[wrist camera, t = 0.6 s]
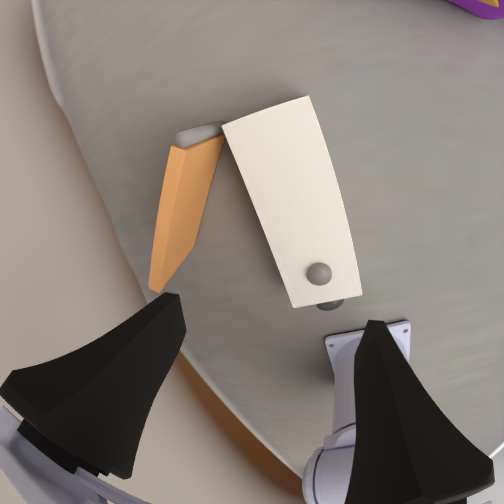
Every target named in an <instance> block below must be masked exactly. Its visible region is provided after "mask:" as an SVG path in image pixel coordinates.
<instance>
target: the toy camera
mask: <svg viewBox="0 0 504 504" xmlns="http://www.w3.org/2000/svg"><path fill="white" fill-rule="evenodd" d="M448 1H450V2H452V3H454V4H456V5H458V6H460V7H462V8H464V9H466V10H467V11H469V12H471V13H473V14H475V15H477V16H479V17H481V18H483V19H487V20H494V19H500V18H504V0H448Z"/></svg>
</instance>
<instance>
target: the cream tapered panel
mask: <svg viewBox="0 0 504 504" xmlns="http://www.w3.org/2000/svg"><path fill="white" fill-rule="evenodd" d="M222 129H223V131H224V133H225V136H226V138H227V141H228V143H229V146H230V148H231V150H232V153H233V155H234V158H235V160H236V163H237V165H238V168H239V170H240V172H241V175H242V177H243V180H244V182H245V185H246V187H247V190H248V192H249V195H250V197H251V200H252V202H253V205H254V207H255V210H256V212H257V215H258V217H259V220H260V222H261V225H262V228H263V230H264V233H265V235H266V238H267V240H268V243H269V245H270V248H271V251H272V253H273V256H274V258H275V261H276V264H277V266H278V269H279V271H280V274H281V277H282V279H283V282H284V284H285V287H286V290H287V292H288V295H289V298H290V300H291V303H292V306H293V308H296V307H302V306H308V305H313V304H316V306H317V307H318V308H319V309H321V310H325V311H329V310H333V309H336V308H338V307H339V306H340V305H341V304H342V303H343V302H344V299H345V298H350V297H355V296H359V295H362V289H361V283H360V278H359V272H358V267H357V262H356V257H355V252H354V247H353V243H352V238H351V234H350V230H349V225H348V221H347V217H346V213H345V209H344V205H343V201H342V197H341V194H340V190H339V186H338V183H337V179H336V176H335V172H334V169H333V166H332V162H331V159H330V156H329V153H328V150H327V146H326V143H325V140H324V137H323V134H322V131H321V128H320V125H319V123H318V120H317V117H316V114H315V111H314V109H313V106H312V103H311V101H310V98H309V95H308V96H305V97H301V98H298V99H295V100H291V101H288V102H285V103H282V104H279V105H276V106H273V107H270V108H267V109H264V110H261V111H258V112H256V113H253V114H250V115H247V116H245V117H242V118H239V119H237V120H234V121H232V122H229V123H227V124H224V125H222Z"/></svg>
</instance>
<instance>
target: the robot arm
mask: <svg viewBox="0 0 504 504" xmlns="http://www.w3.org/2000/svg"><path fill="white" fill-rule="evenodd" d="M410 327H411V326H410V322H409V321H402V322H398V323H393V324H389V325H386V324H385V322H384V321H377V320H368V322H367V325H366V328H365V330H360V331H355V332H350V333H344V334H338V335H332V336H328V337H326V338H325V344H326V348H327V351H328V355H329V358H330V361H331V365H332V369H333V372H334V376H335V389H334V413H333V430H332V435H329V436H325V437H324V446H323V447H320V448H318V449H316V450H315V451H314V452H313V454H312V455H311V457H310V458H309V460H308V462H307V464H306V466H305V469H304V473H303V482H302V487H303V495H304V498H305V500H306V503H307V504H467V497H469V496H471V495H473V494H476V493H478V492H480V491H482V490H484V489H486V488H488V487H490V486H492V485H493V484H494V482H495V478H494V467H493V461H492V460H491V459H490V458H489V457H488V456H487V455H485V454H484V453H483V452H482V451H480V450H479V449H478V448H477V447H475V446H474V445H473V444H472V443H471V442H470V441H469V440H468V439H467V438H466V437H465V436H464V435H463V434H462V433H461V432H460V431H459V430H458V429H457V428H456V427H455V426H454V425H453V424H452V423H451V422H450V420H449V419H448V418H447V417H446V416H445V415H444V414H443V412H442V411H441V410H440V409H439V408H438V406H437V405H436V404H435V402H434V401H433V400H432V398H431V397H430V396H429V394H428V393H427V392H426V390H425V389H424V387H423V386H422V384H421V383H420V381H419V380H418V378H417V377H416V375H415V373H414V372H413V370H412V368H411V367H410V365H409V350H410ZM405 329H406V330H405ZM185 334H186V326H185V321H184V317H183V312H182V307H181V302H180V297H179V295H178V294H173V293H168V292H165V293H163V294H162V295H160V296H159V297H158V298H156V299H155V300H153V301H152V302H151V303H149V304H148V305H147V306H145V307H144V308H143V309H141V310H140V311H138V312H137V313H136V314H134V315H133V316H132V317H130V318H129V319H127V320H126V321H125V322H123V323H121V324H120V325H118V326H117V327H115V328H114V329H112V330H111V331H109V332H108V333H106V334H105V335H103V336H101V337H100V338H98V339H96V340H95V341H93V342H91V343H89V344H87V345H85V346H83V347H81V348H79V349H77V350H75V351H73V352H71V353H68V354H66V355H64V356H61V357H59V358H57V359H54V360H51V361H48V362H45V363H42V364H39V365H35V366H31V367H27V368H23V369H18V370H13V371H12V372H11V373H10V375H9V376H8V377H7V379H6V380H5V382H4V383H3V384H2V386H1V387H0V395H1V397H2V398H3V399H4V400H5V401H6V402H7V403H8V404H9V405H10V406H11V407H13V409H15V411H17V412H18V413H19V414H20V415H21V416H22V417H23V418H24V419H23V421H22V422H21V421H20V420H19V419H17V418H16V417H15V416H14V415H13V414H12V413H11V412H10V411H9V410H8V409H7V408H6V407H5V406H2V407H1V408H0V468H1V470H2V471H3V472H4V474H5V475H6V477H7V478H8V479H9V481H10V482H11V484H12V485H13V486H14V488H15V489H16V490H17V491H18V493H19V494H20V495H21V496H22V498H23V499H24V500H25V501H26V503H27V504H108V503H107V500H109V501H111V502H113V503H115V504H150V503H148V502H146V501H143V500H141V499H139V498H137V497H134V496H132V495H130V494H128V493H126V492H124V491H122V490H120V489H118V488H116V487H114V486H112V485H110V484H108V483H106V482H105V481H103V480H101V479H99V478H98V474H99V473H101V474H103V475H105V476H108V475H109V473H112V474H114V475H115V476H117V477H119V478H122V479H128V478H130V477H131V476H132V470H133V465H134V461H135V456H136V452H137V449H138V445H139V441H140V438H141V435H142V431H143V428H144V425H145V422H146V419H147V416H148V414H149V411H150V409H151V406H152V403H153V401H154V399H155V397H156V394H157V392H158V390H159V388H160V387H161V385H162V383H163V381H164V379H165V377H166V375H167V373H168V372H169V370H170V368H171V366H172V364H173V362H174V360H175V358H176V356H177V354H178V353H179V350H180V347H181V345H182V342H183V339H184V337H185ZM484 504H492V503H491V501H488V502H486V503H484Z"/></svg>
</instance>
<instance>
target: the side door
mask: <svg viewBox="0 0 504 504" xmlns="http://www.w3.org/2000/svg"><path fill="white" fill-rule="evenodd" d="M224 124H226V123H225V122H223V121H220V122H215V123H211V124H207V125H203V126H199V127H195V128H191V129H187V130H184V131H180V132H178V133H176V135H175V136H174V143H175V145H173V146H171V149H170V153H169V158H168V162H167V167H166V172H165V177H164V182H163V187H162V192H161V198H160V203H159V209H158V215H157V222H156V228H155V235H154V242H153V249H152V257H151V266H150V275H149V285H148V288H149V289H151V290H153V291H155V292H157V293H160V292H161V290H162V289H163V287H164V286H165V285H166V283H167V282H168V281H169V279H170V278H171V276H172V275H173V274H174V272H175V271H176V270H177V268H178V267H179V266H180V264H181V263H182V262H183V260H184V259H185V258H186V256H187V255H188V254H189V252H190V251H191V250H192V248H193V247H194V245H195V241H196V237H197V233H198V229H199V225H200V222H201V218H202V214H203V210H204V207H205V203H206V199H207V196H208V192H209V189H210V185H211V182H212V178H213V175H214V171H215V168H216V164H217V161H218V158H219V155H220V151H221V148H222V145H223V142H224V138H225V134H222V133H224V131H223V129H222V125H224Z"/></svg>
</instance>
